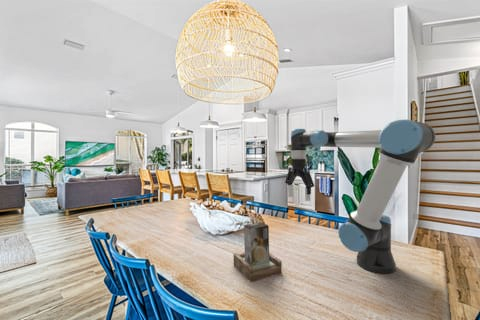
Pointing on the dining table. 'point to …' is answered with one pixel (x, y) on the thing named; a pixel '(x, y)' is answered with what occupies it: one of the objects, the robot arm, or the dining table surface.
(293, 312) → the dining table surface
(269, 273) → the wooden tray
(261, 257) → the coffee box
